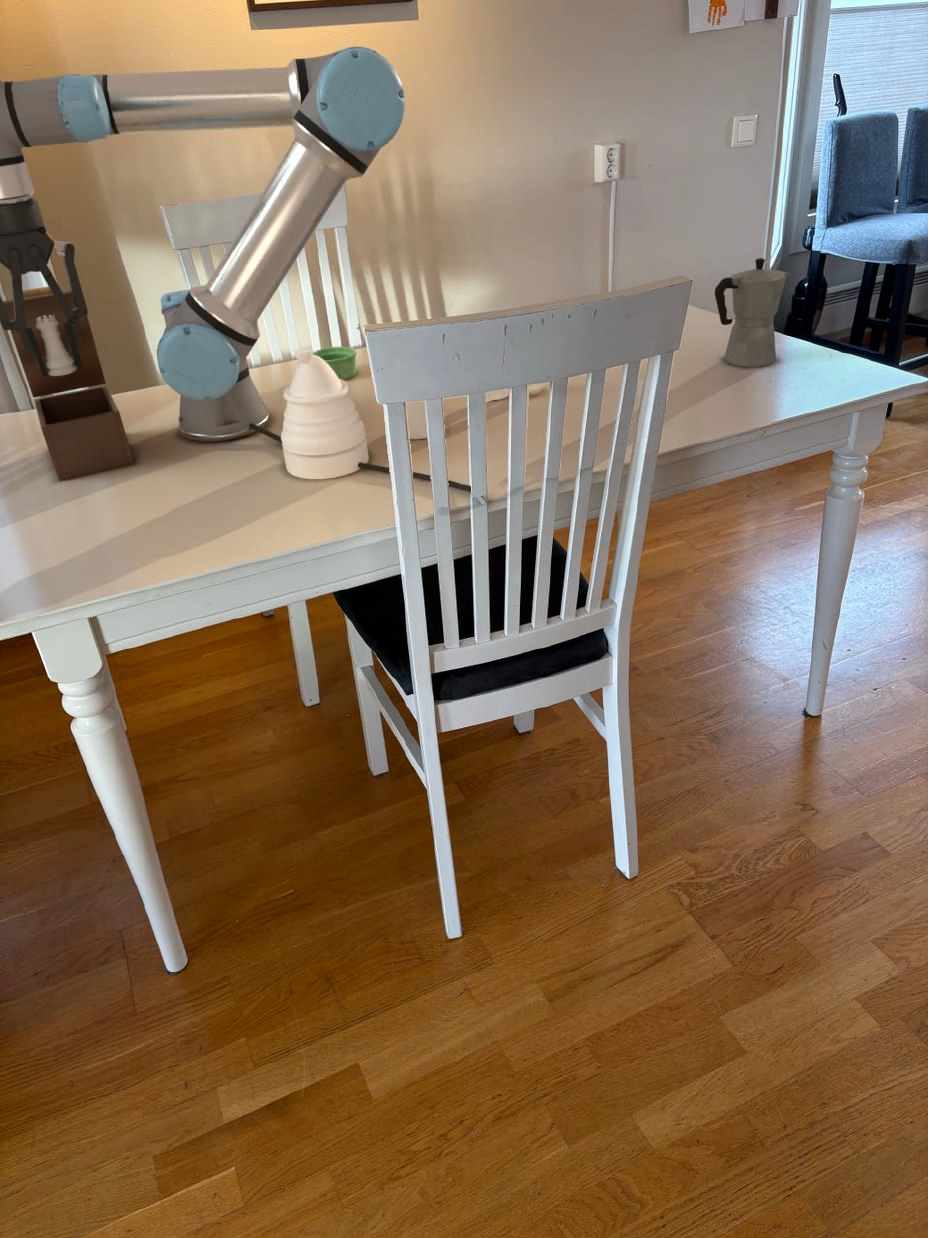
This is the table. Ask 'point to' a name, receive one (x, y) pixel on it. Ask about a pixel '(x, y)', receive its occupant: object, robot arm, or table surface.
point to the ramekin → (339, 360)
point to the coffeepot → (751, 314)
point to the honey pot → (321, 423)
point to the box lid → (44, 305)
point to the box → (83, 432)
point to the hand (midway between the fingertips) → (62, 369)
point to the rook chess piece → (55, 348)
